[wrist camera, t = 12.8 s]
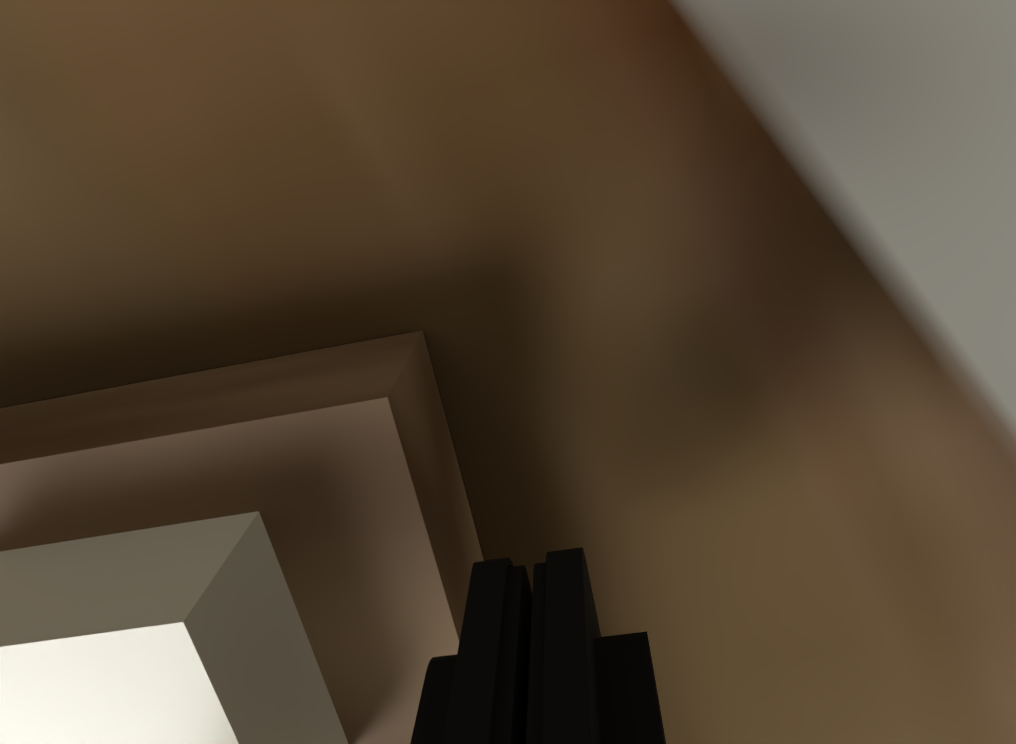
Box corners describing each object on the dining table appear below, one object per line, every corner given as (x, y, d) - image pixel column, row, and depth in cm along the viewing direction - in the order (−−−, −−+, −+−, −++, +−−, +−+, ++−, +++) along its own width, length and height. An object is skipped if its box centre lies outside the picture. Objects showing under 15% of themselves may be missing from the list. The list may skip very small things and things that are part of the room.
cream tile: (350, 747, 13) (306, 890, 11) (97, 774, 14) (5, 915, 12) (258, 511, 11) (183, 622, 9) (-26, 555, 12) (-164, 668, 10)
